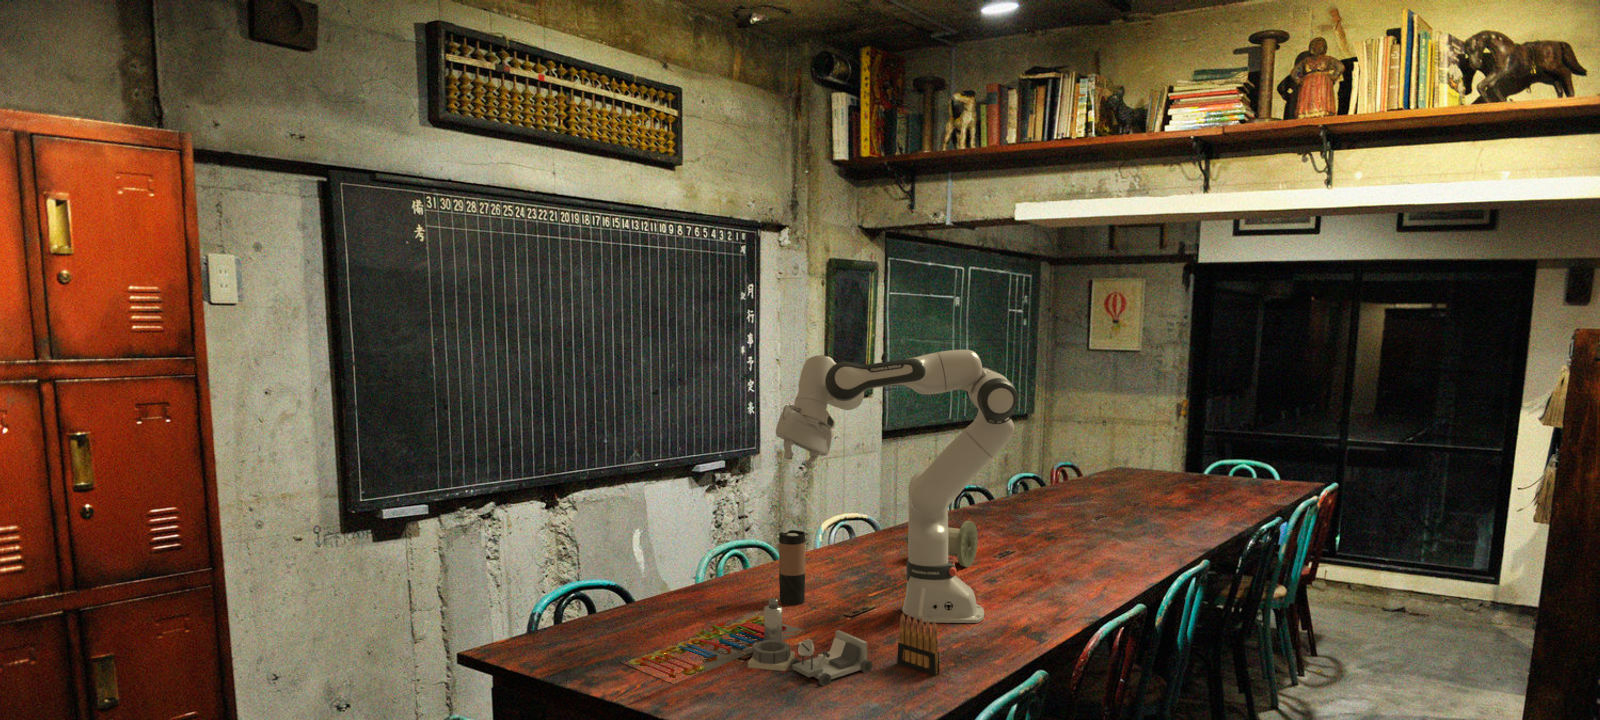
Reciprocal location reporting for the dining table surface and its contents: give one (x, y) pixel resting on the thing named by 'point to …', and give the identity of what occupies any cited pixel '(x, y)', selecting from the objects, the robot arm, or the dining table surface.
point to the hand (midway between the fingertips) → (798, 463)
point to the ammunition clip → (918, 646)
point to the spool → (963, 543)
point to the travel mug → (792, 567)
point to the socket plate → (771, 655)
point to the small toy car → (833, 658)
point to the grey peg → (773, 620)
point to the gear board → (714, 658)
